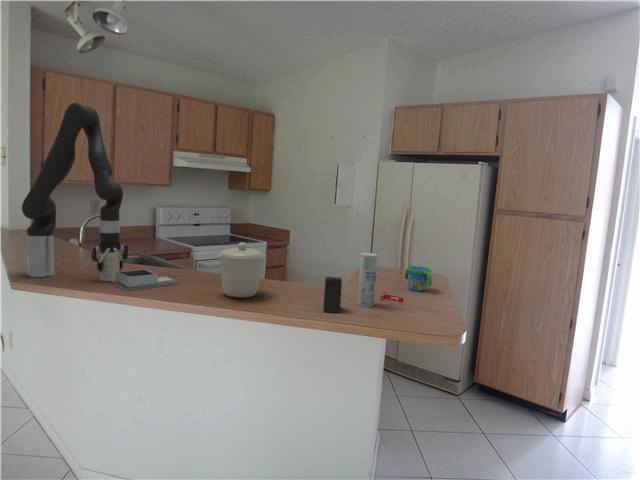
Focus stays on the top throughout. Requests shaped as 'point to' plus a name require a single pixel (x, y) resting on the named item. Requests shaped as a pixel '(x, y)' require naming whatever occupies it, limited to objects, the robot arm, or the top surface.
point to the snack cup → (418, 278)
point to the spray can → (367, 279)
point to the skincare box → (110, 266)
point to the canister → (241, 271)
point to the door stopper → (332, 294)
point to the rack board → (141, 280)
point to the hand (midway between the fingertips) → (109, 270)
